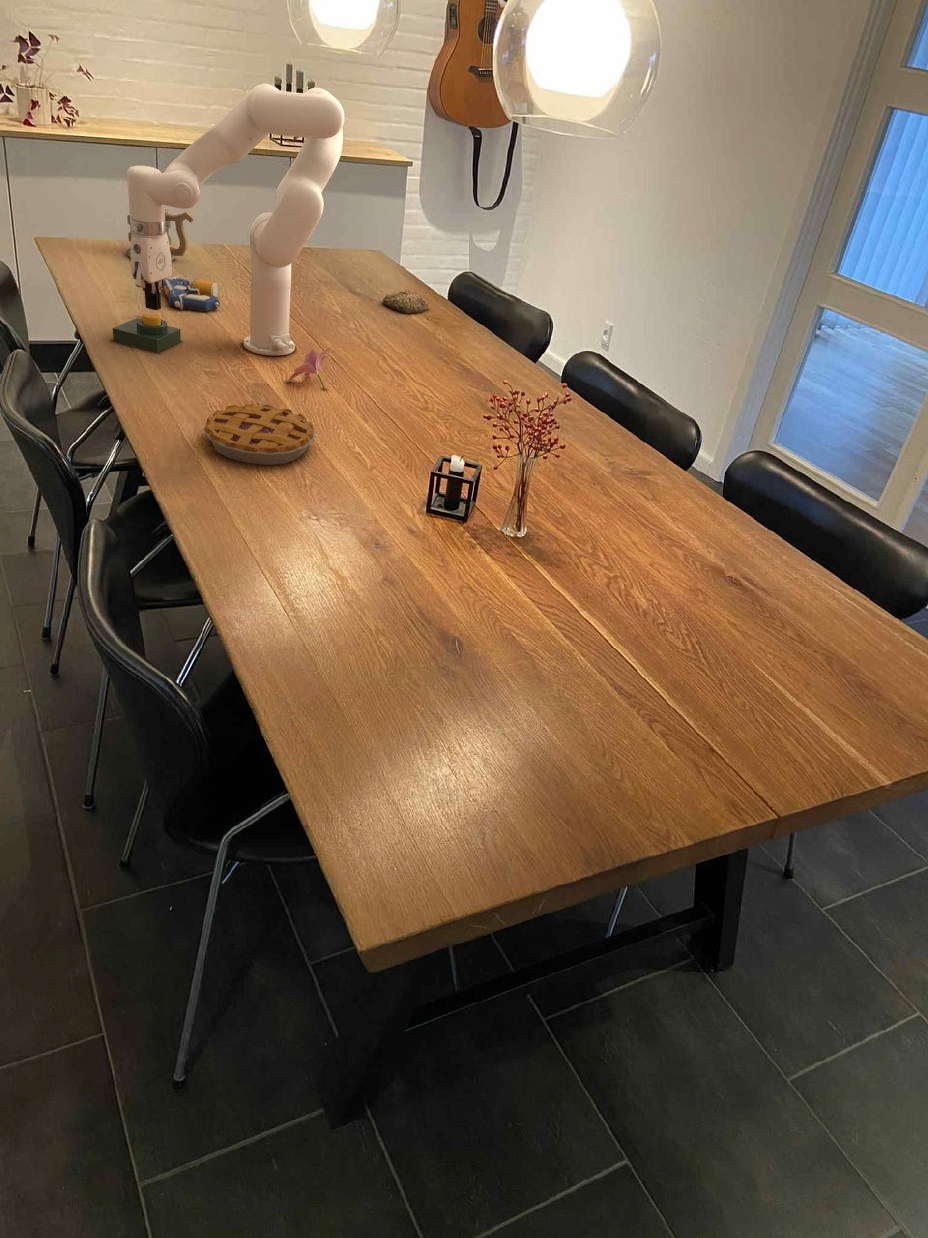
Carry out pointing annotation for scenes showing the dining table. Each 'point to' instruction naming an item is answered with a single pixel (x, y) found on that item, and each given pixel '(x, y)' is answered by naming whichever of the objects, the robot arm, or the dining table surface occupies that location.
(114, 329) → the button block
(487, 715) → the dining table surface
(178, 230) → the tankard
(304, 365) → the lily
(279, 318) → the robot arm
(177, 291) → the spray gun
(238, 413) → the pie
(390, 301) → the bread roll
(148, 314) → the yellow push button
